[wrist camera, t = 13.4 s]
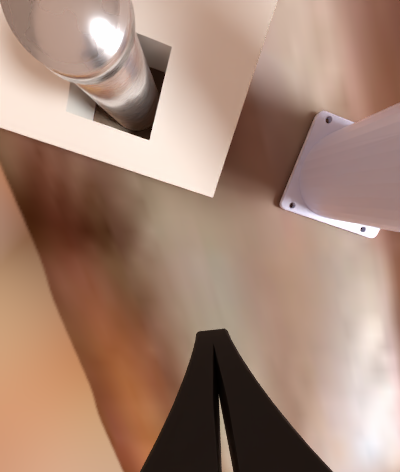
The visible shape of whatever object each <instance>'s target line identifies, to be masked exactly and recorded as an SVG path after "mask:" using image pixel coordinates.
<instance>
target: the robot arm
mask: <svg viewBox="0 0 400 472" xmlns="http://www.w3.org/2000/svg"><path fill="white" fill-rule="evenodd" d="M326 118H327V119H328V120H329V122H328V123H326V121H325V120H326ZM290 203H293V207H292V208H290V207H289V205H290ZM280 207H281V208H282V209H284V210H287V211H290V212H293V213H296V214H299V215H302V216H305V217H308V218H311V219H314V220H317V221H320V222H323V223H326V224H329V225H332V226H335V227H338V228H341V229H344V230H347V231H350V232H353V233H356V234H359V235H362V236H364V237H368V238H374V237H375V236H376V235H377V233H378V232H379V230H380V229H385V230H391V231H396V232H400V103H397V104H395V105H393V106H391V107H389V108H386V109H384V110H382V111H380V112H377V113H375V114H373V115H371V116H369V117H366V118H364V119H362V120H360V121H357V122H355V123H354V122H352V121H349V120H347V119H344V118H342V117H339V116H337V115H334V114H332V113H329V112H327V111H321V112H319V113H318V114H316V116H315V117H314V120H313V122H312V125H311V127H310V130H309V132H308V135H307V137H306V139H305V142H304V144H303V147H302V149H301V152H300V154H299V157H298V159H297V161H296V164H295V166H294V169H293V171H292V174H291V176H290V179H289V181H288V183H287V186H286V188H285V191H284V193H283V196H282V198H281V201H280ZM361 227H362V230H361V231H360V229H361ZM219 398H220V403H221V409H222V414H223V419H224V424H225V430H226V435H227V440H228V445H229V451H230V456H231V461H232V466H233V472H332V470H331V469H330V468H329V467H328V466H327V465H326V464H325V463H324V462H323V461H322V460H321V459H320V457H319V456H318V455H317V454H316V453H315V452H314V451H313V450H312V449H311V448H310V447H309V445H308V444H307V443H306V442H305V441H304V440H303V438H302V437H301V436H300V435H299V434H298V433H297V431H296V430H295V429H294V428H293V427H292V426H291V424H290V423H289V422H288V421H287V419H286V418H285V417H284V416H283V415H282V413H281V412H280V411H279V410H278V408H277V407H276V406H275V405H274V403H273V402H272V401H271V399H270V398H269V397H268V395H267V394H266V393H265V391H264V390H263V389H262V387H261V386H260V384H259V383H258V382H257V380H256V379H255V377H254V376H253V374H252V373H251V371H250V370H249V368H248V367H247V365H246V364H245V362H244V361H243V359H242V357H241V356H240V354H239V352H238V351H237V349H236V347H235V345H234V344H233V342H232V340H231V338H230V336H229V333H228V331H227V330H226V329H218V330H208V331H199V332H198V333H197V334H196V340H195V344H194V348H193V352H192V355H191V359H190V362H189V365H188V368H187V370H186V373H185V376H184V379H183V382H182V384H181V387H180V389H179V392H178V394H177V397H176V399H175V401H174V404H173V406H172V408H171V411H170V413H169V415H168V417H167V419H166V422H165V424H164V426H163V428H162V430H161V432H160V434H159V436H158V438H157V440H156V442H155V444H154V446H153V448H152V450H151V452H150V454H149V456H148V458H147V460H146V462H145V463H144V465H143V467H142V469H141V471H140V472H222V467H221V441H220V416H219Z"/></svg>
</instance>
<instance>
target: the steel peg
mask: <svg viewBox="0 0 400 472" xmlns="http://www.w3.org/2000/svg"><path fill="white" fill-rule="evenodd" d="M0 4H1V7H2V10H3V13H4V16H5V18H6V21H7V23H8V25H9V26H10V28H11V30H12V32H13V33H14V35H15V36H16V38H17V40H18V41H19V42H20V43H21V44H22V46H23V47H24V48H25V49H26V50H27V51H28V52H29V53H30V54H31V55H32V56H33V57H35V58H36V59H37V60H38V61H39V62H40V63H42V64H43V65H44V66H45V67H46V68H48V69H49V70H50V71H51V72H53V73H54V74H56V75H57V76H59V77H60V78H62V79H64V80H67V81H69V82H72V83H75V84H76V85H77V86H78V87H79V88H81V89H82V90H83V91H84V92H85V93H86V94H87V95H88V96H89V97H91V98H92V99H93V100H94V101H95V102H96V103H97V104H98V105H99V106H101V107H102V108H103V109H104V110H105V111H106V112H107V113H108V114H109V115H111V116H112V117H113V118H114V119H115V120H116V121H117V122H118V123H119V124H121V125H122V126H123V127H125V128H127V129H129V130H133V131H142V130H145V129H147V128H149V127H150V126H152V125H153V123H154V119H155V115H156V111H157V107H158V103H159V98H160V96H159V93H158V90H157V88H156V85H155V82H154V80H153V77H152V74H151V72H150V69H149V66H148V63H147V61H146V58H145V55H144V53H143V50H142V47H141V45H140V42H139V39H138V37H137V34H136V31H135V14H134V8H133V3H132V0H0Z"/></svg>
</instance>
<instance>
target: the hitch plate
mask: <svg viewBox="0 0 400 472" xmlns="http://www.w3.org/2000/svg"><path fill="white" fill-rule="evenodd" d="M277 1H278V0H132V3H133V8H134V14H135V31H136V34H137V37H138V39H139V42H140V45H141V47H142V50H143V53H144V55H145V58H146V61H147V63H148V66H149V67H151V68H154V69H157V70H159V71H162V72H164V73H166V74H165V78H164V82H163V86H162V90H161V94H160V98H159V103H158V107H157V111H156V115H155V119H154V123H153V127H152V132H151V136H150V140H147V139H144V138H141V137H138V136H135V135H132V134H129V133H126V132H124V131H121V130H118V129H115V128H112V127H109V126H106V125H103V124H101V123H98V122H95V121H93V118H94V112H95V106H96V102H95V101H94V100H93V99H92V98H91V97H89V96H88V95H87V94H86V93H85V92H84V91H83V90H82V89H81V88H79V87H78V86H77V85H76V84H75V83H72V82H69V81H67V80H64V79H62V78H60V77H59V76H57V75H56V74H54V73H53V72H51V71H50V70H49V69H48V68H46V67H45V66H44V65H43V64H42V63H40V62H39V61H38V60H37V59H36V58H35V57H33V56H32V55H31V54H30V53H29V52H28V51H27V50H26V49H25V48H24V47H23V46H22V44H21V43H20V42H19V41H18V40H17V38H16V36H15V35H14V33H13V32H12V30H11V28H10V26H9V25H8V23H7V21H6V18H5V16H4V13H3V10H2V7H1V4H0V128H3V129H6V130H9V131H12V132H15V133H18V134H20V135H24V136H27V137H30V138H33V139H36V140H39V141H42V142H45V143H48V144H51V145H54V146H57V147H60V148H63V149H66V150H69V151H72V152H75V153H78V154H81V155H84V156H87V157H90V158H93V159H96V160H99V161H102V162H105V163H108V164H111V165H114V166H117V167H120V168H123V169H126V170H129V171H132V172H135V173H139V174H142V175H145V176H148V177H151V178H154V179H157V180H160V181H163V182H166V183H169V184H172V185H175V186H178V187H181V188H184V189H187V190H190V191H193V192H196V193H199V194H202V195H205V196H208V197H212V198H213V195H214V192H215V189H216V186H217V183H218V180H219V177H220V174H221V171H222V168H223V165H224V162H225V159H226V156H227V153H228V150H229V147H230V144H231V141H232V138H233V135H234V132H235V129H236V126H237V122H238V119H239V116H240V113H241V110H242V107H243V104H244V101H245V98H246V95H247V92H248V89H249V86H250V83H251V80H252V77H253V74H254V71H255V68H256V65H257V62H258V59H259V56H260V53H261V50H262V47H263V44H264V41H265V38H266V35H267V32H268V28H269V25H270V22H271V19H272V16H273V13H274V10H275V7H276V4H277Z"/></svg>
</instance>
